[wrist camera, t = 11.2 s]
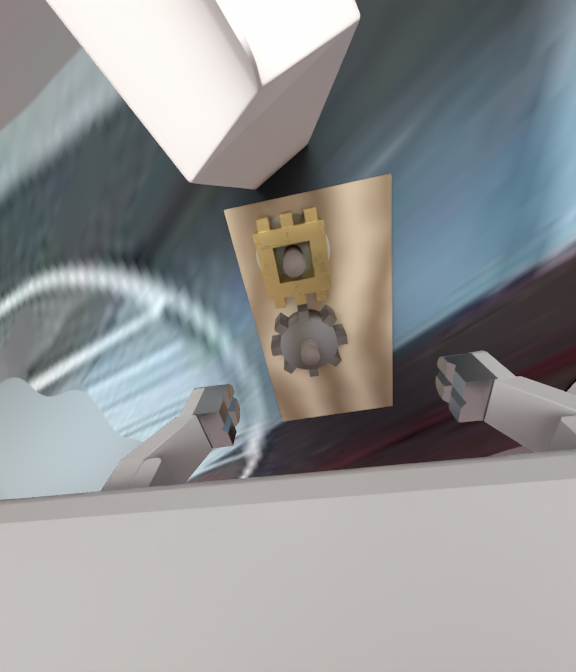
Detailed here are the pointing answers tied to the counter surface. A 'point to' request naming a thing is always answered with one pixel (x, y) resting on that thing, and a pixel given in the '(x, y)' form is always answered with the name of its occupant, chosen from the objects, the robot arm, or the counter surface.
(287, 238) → the toothed rectangular frame
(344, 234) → the gear board
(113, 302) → the counter surface
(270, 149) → the milk
